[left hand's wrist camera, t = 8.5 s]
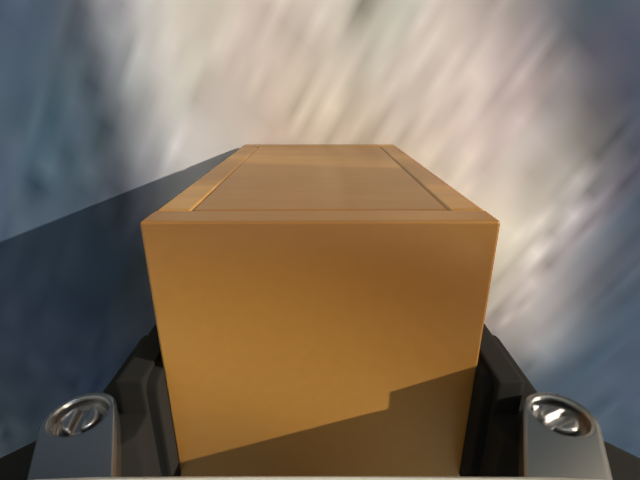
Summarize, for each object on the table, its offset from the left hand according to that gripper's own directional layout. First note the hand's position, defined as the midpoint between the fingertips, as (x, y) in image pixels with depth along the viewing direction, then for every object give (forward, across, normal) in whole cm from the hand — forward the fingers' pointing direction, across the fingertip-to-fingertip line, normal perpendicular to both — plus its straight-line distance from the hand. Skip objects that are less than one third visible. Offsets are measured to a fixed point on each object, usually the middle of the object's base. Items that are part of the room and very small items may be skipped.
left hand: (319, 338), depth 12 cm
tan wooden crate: (+8, 0, +4) cm, 9 cm away
